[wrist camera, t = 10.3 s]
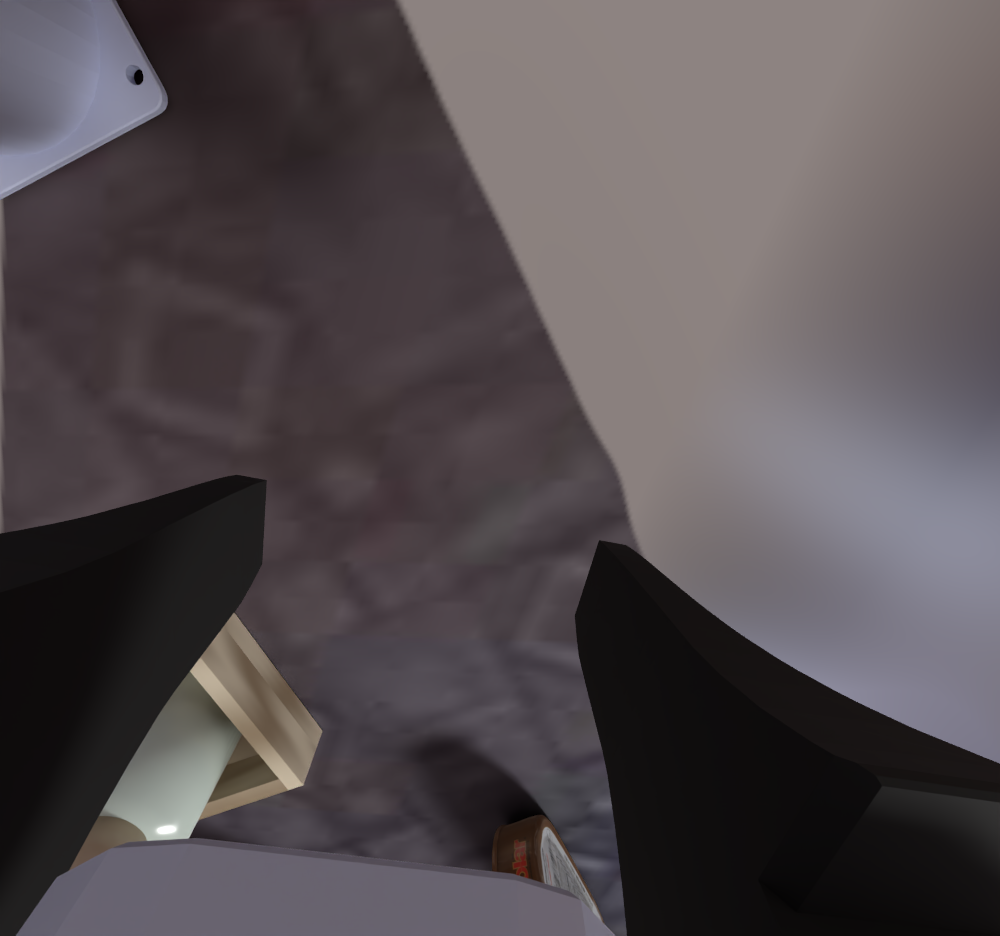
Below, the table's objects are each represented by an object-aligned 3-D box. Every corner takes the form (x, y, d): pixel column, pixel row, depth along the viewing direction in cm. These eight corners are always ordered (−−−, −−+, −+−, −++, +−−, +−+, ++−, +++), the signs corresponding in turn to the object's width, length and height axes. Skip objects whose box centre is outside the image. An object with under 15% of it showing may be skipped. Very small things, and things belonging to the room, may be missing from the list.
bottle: (116, 701, 24) (-44, 891, 17) (194, 653, 24) (61, 830, 16) (193, 764, 26) (79, 963, 19) (269, 720, 25) (181, 910, 18)
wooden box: (87, 667, 25) (37, 718, 22) (233, 611, 24) (199, 656, 21) (188, 777, 28) (155, 834, 25) (322, 730, 27) (303, 785, 24)
